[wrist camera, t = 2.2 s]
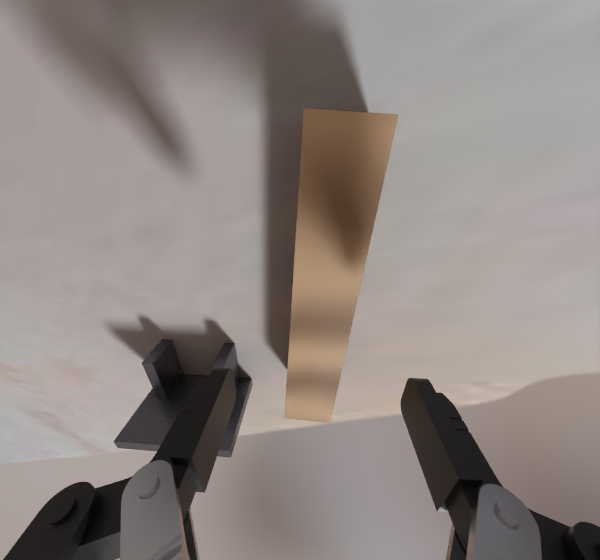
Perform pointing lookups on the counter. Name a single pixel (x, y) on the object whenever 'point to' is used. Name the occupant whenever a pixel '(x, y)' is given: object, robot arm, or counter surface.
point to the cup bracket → (178, 399)
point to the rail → (331, 247)
